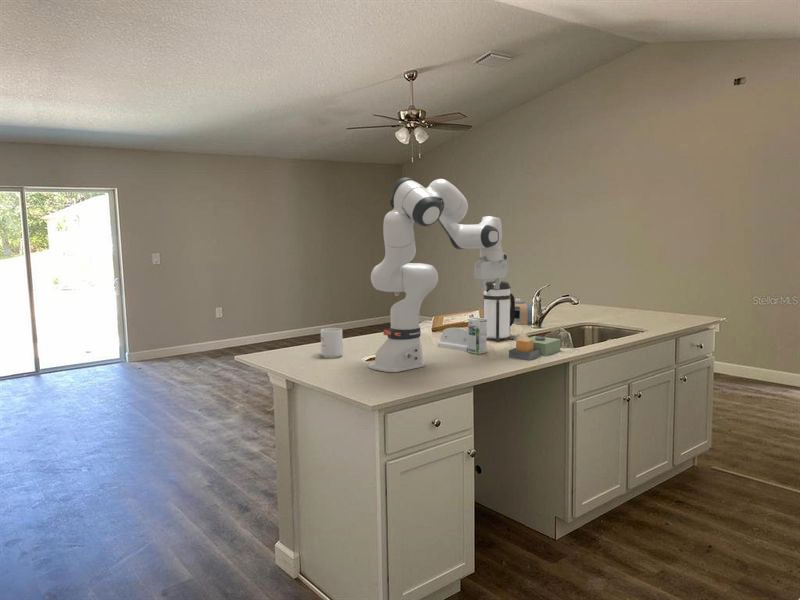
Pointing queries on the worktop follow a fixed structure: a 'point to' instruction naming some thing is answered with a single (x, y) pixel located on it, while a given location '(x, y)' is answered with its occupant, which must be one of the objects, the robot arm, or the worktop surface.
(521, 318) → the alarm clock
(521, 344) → the orange rectangular block
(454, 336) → the hinge
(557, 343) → the green box
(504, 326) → the coffee press
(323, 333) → the mug
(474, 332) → the syrup box
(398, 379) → the worktop surface
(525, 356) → the tray
